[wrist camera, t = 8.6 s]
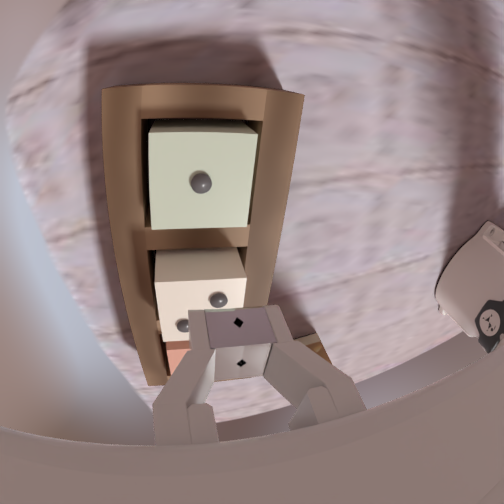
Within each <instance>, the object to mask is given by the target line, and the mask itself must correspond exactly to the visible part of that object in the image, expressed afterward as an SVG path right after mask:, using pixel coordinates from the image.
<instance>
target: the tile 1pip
mask: <svg viewBox="0 0 504 504" xmlns="http://www.w3.org/2000/svg"><path fill="white" fill-rule="evenodd" d="M257 138H258V134H257V133H256V132H255V131H253V130H252V129H251V128H250V127H248V126H247V125H246V124H245V123H244V122H242V121H241V120H227V119H156V120H155V122H154V123H153V125H152V127H151V129H150V131H149V190H150V211H151V227H152V230H159V229H188V228H224V227H247V221H248V213H249V204H250V196H251V188H252V179H253V171H254V163H255V154H256V146H257Z"/></svg>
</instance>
